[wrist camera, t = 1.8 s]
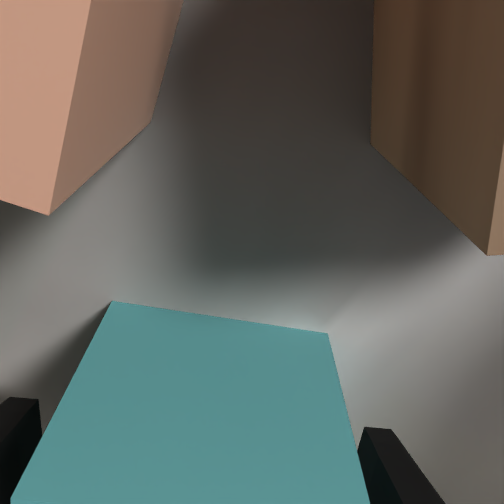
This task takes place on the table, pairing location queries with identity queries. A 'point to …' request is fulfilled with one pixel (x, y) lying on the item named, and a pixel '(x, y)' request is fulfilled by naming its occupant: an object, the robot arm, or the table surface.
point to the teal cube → (197, 417)
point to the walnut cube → (444, 107)
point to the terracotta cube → (75, 89)
